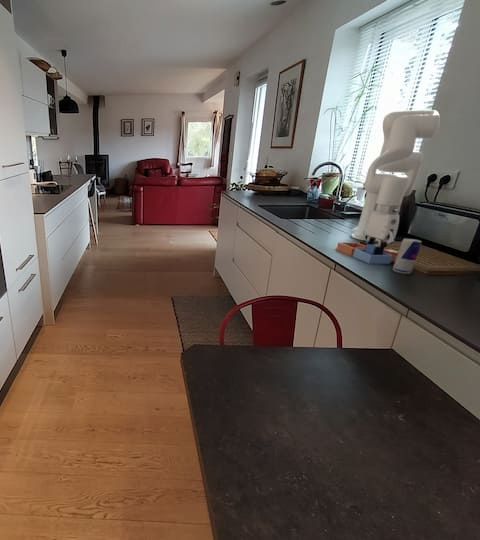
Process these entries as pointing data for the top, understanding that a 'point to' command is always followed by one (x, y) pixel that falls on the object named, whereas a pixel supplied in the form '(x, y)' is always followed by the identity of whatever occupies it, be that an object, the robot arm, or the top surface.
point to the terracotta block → (391, 253)
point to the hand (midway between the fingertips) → (372, 254)
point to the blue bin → (372, 257)
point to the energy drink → (407, 256)
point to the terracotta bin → (349, 247)
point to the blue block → (370, 248)
